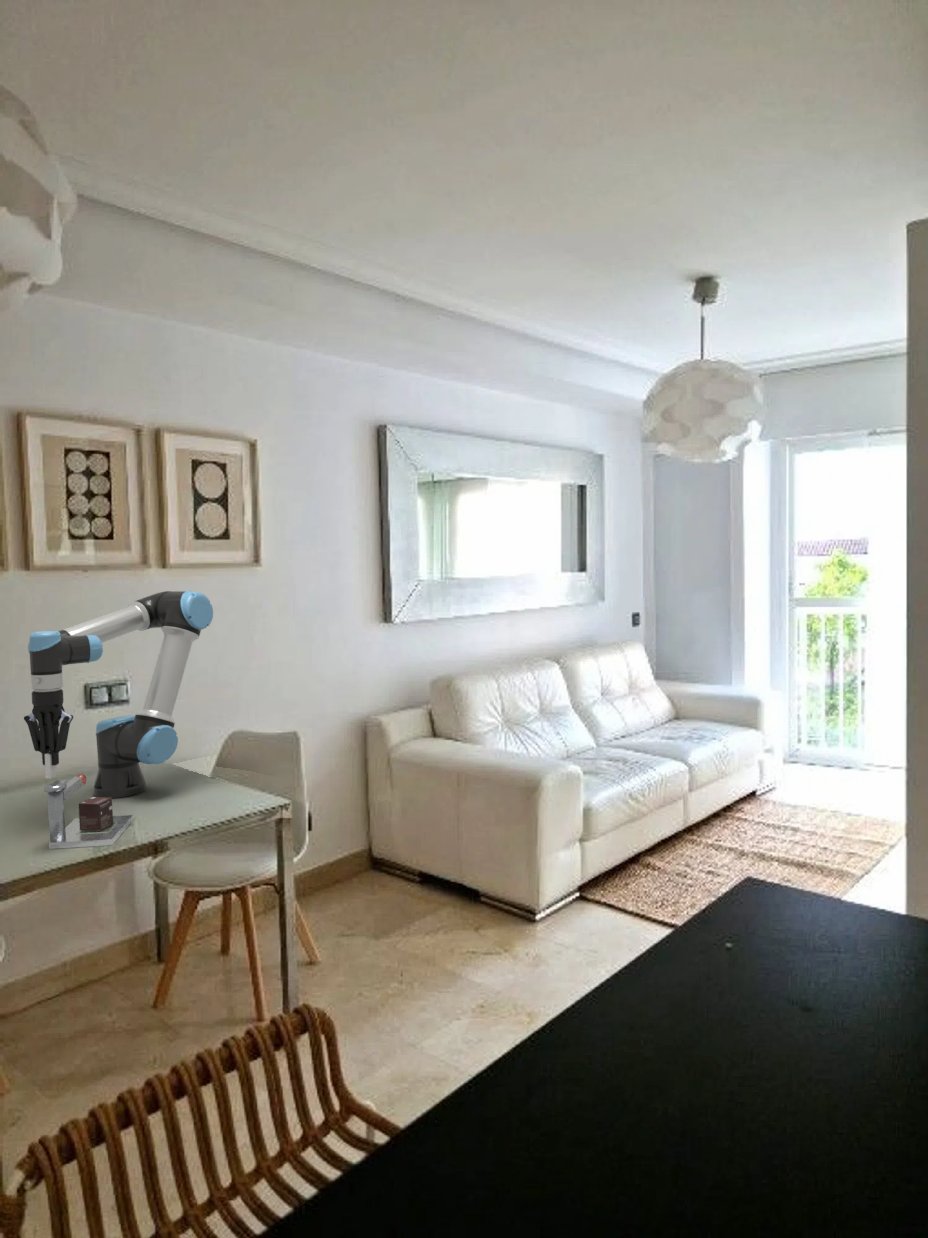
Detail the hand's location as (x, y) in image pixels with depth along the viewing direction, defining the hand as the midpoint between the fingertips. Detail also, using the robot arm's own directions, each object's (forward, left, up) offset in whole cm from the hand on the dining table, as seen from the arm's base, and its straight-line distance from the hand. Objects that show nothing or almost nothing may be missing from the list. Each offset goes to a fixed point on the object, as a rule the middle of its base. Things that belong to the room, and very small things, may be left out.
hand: (51, 777), depth 225 cm
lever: (+7, +6, -4) cm, 10 cm away
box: (+8, +13, -12) cm, 20 cm away
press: (+8, +12, -14) cm, 20 cm away
